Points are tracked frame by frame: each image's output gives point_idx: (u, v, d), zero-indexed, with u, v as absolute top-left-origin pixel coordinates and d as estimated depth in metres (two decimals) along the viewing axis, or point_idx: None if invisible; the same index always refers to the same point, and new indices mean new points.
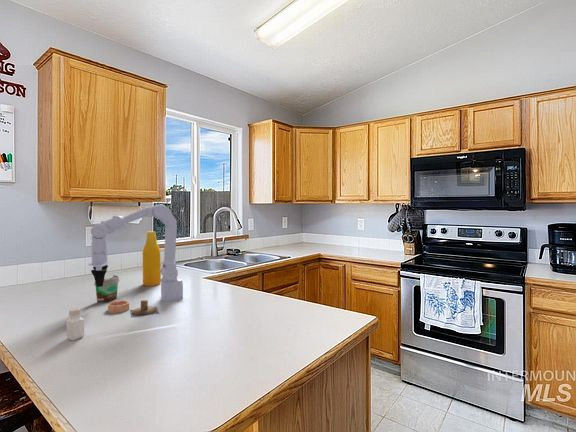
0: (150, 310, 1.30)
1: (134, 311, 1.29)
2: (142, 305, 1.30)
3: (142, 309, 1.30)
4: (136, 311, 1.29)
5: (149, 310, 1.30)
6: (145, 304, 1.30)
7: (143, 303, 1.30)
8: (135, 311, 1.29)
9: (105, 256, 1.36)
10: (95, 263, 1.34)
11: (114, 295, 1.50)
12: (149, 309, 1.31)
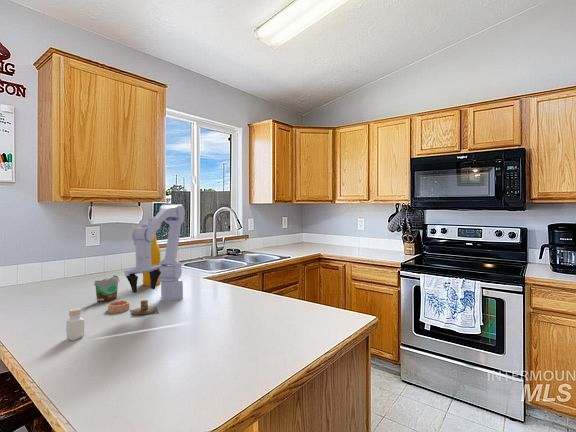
0: (150, 310, 1.30)
1: (134, 311, 1.29)
2: (142, 305, 1.30)
3: (142, 309, 1.30)
4: (136, 311, 1.29)
5: (149, 310, 1.30)
6: (145, 304, 1.30)
7: (143, 303, 1.30)
8: (135, 311, 1.29)
9: (142, 262, 1.28)
10: None
11: (114, 295, 1.50)
12: (149, 309, 1.31)
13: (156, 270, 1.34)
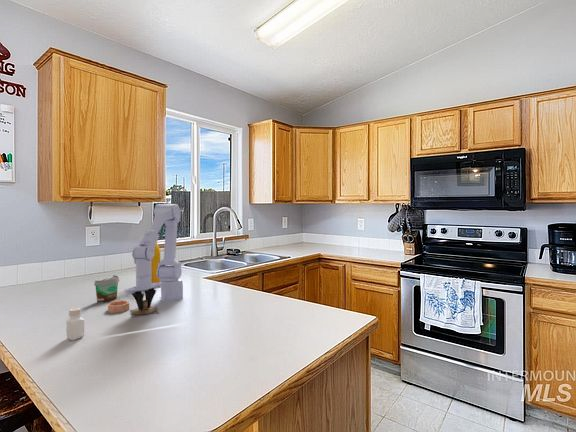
0: (150, 310, 1.30)
1: (134, 311, 1.29)
2: None
3: None
4: (136, 311, 1.29)
5: (149, 310, 1.30)
6: (145, 304, 1.30)
7: (143, 303, 1.30)
8: (135, 311, 1.29)
9: (142, 280, 1.28)
10: (136, 286, 1.30)
11: (114, 295, 1.50)
12: (149, 309, 1.31)
13: None
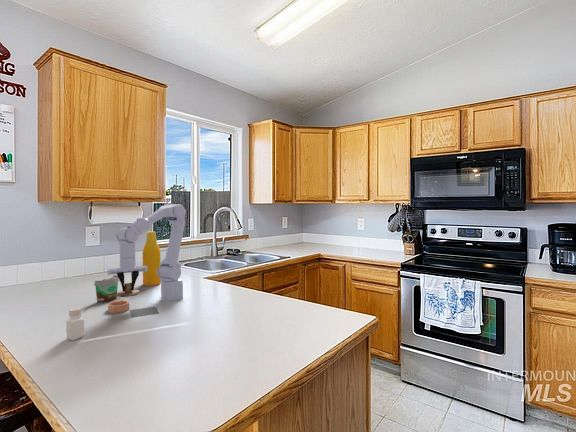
0: (132, 293, 1.31)
1: (118, 293, 1.31)
2: (125, 287, 1.31)
3: (125, 291, 1.31)
4: (119, 293, 1.31)
5: (131, 293, 1.31)
6: (128, 287, 1.31)
7: (126, 285, 1.31)
8: (119, 293, 1.31)
9: (123, 262, 1.29)
10: None
11: (114, 295, 1.50)
12: (132, 292, 1.32)
13: None
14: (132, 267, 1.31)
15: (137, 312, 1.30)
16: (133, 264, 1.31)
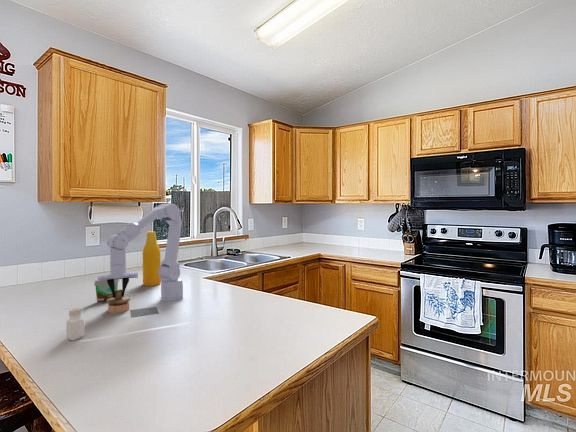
0: (122, 300, 1.32)
1: (108, 299, 1.32)
2: (115, 294, 1.32)
3: (115, 298, 1.32)
4: (110, 300, 1.32)
5: (121, 299, 1.32)
6: (118, 293, 1.32)
7: (116, 292, 1.32)
8: (109, 300, 1.32)
9: (113, 269, 1.31)
10: None
11: None
12: (123, 299, 1.33)
13: (131, 277, 1.35)
14: (122, 274, 1.32)
15: (137, 312, 1.30)
16: (123, 271, 1.32)
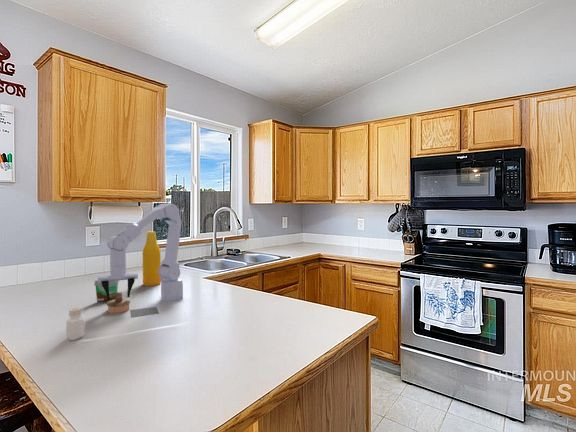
0: (122, 302, 1.32)
1: (108, 302, 1.32)
2: (115, 297, 1.32)
3: (116, 301, 1.32)
4: (110, 302, 1.32)
5: (122, 302, 1.32)
6: (118, 296, 1.32)
7: (116, 295, 1.32)
8: (109, 302, 1.32)
9: (113, 270, 1.31)
10: None
11: (114, 295, 1.50)
12: (123, 301, 1.33)
13: (131, 279, 1.35)
14: (122, 275, 1.32)
15: (137, 312, 1.30)
16: (123, 272, 1.32)
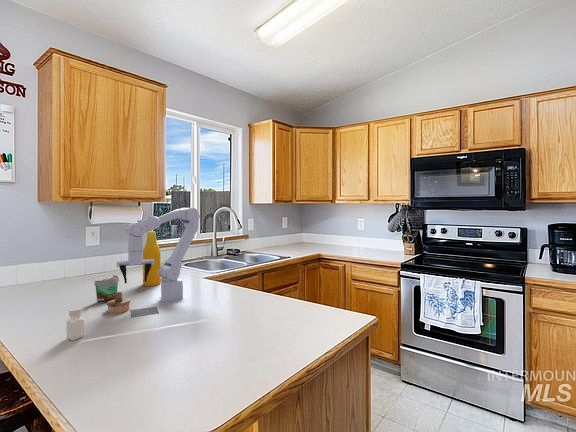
0: (122, 302, 1.32)
1: (108, 302, 1.32)
2: (115, 297, 1.32)
3: (116, 301, 1.32)
4: (110, 302, 1.32)
5: (122, 302, 1.32)
6: (118, 296, 1.32)
7: (116, 295, 1.32)
8: (109, 302, 1.32)
9: (131, 255, 1.37)
10: None
11: (114, 295, 1.50)
12: (123, 301, 1.33)
13: (148, 264, 1.42)
14: (139, 260, 1.39)
15: (137, 312, 1.30)
16: (140, 257, 1.39)
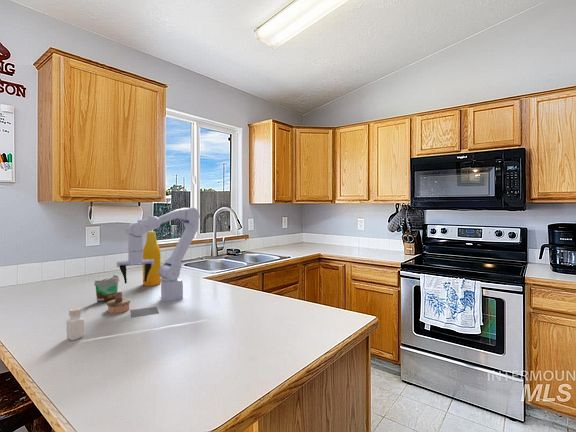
0: (122, 302, 1.32)
1: (108, 302, 1.32)
2: (115, 297, 1.32)
3: (116, 301, 1.32)
4: (110, 302, 1.32)
5: (122, 302, 1.32)
6: (118, 296, 1.32)
7: (116, 295, 1.32)
8: (109, 302, 1.32)
9: (131, 255, 1.37)
10: None
11: (114, 295, 1.50)
12: (123, 301, 1.33)
13: (148, 264, 1.42)
14: (139, 260, 1.39)
15: (137, 312, 1.30)
16: (140, 257, 1.39)
